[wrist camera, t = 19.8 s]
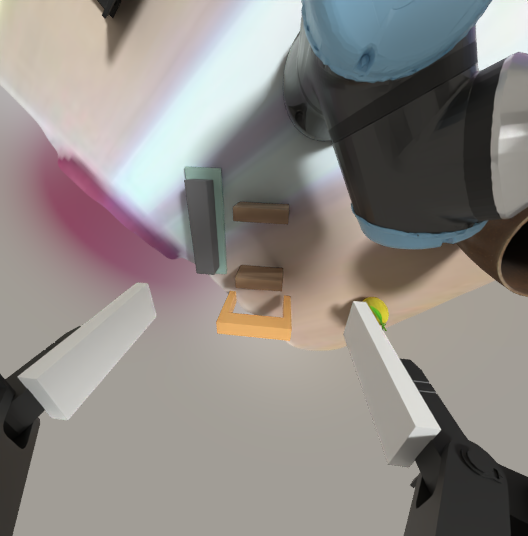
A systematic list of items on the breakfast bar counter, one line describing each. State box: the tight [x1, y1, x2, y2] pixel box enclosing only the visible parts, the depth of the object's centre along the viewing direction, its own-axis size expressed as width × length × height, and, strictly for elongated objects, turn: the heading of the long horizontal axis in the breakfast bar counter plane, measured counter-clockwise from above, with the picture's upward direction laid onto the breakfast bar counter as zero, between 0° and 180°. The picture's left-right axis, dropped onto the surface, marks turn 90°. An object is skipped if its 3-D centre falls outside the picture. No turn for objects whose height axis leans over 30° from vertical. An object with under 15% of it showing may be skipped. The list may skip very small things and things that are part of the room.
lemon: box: [362, 297, 389, 331], centre depth 44 cm, size 7×6×10 cm
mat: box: [185, 167, 227, 274], centre depth 44 cm, size 23×7×1 cm, turn 178°
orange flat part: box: [216, 291, 292, 341], centre depth 44 cm, size 3×14×11 cm, turn 88°
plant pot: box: [457, 207, 528, 297], centre depth 31 cm, size 15×15×16 cm
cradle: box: [233, 202, 289, 291], centre depth 42 cm, size 17×10×6 cm, turn 178°
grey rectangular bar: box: [184, 179, 220, 275], centre depth 42 cm, size 19×4×4 cm, turn 178°
